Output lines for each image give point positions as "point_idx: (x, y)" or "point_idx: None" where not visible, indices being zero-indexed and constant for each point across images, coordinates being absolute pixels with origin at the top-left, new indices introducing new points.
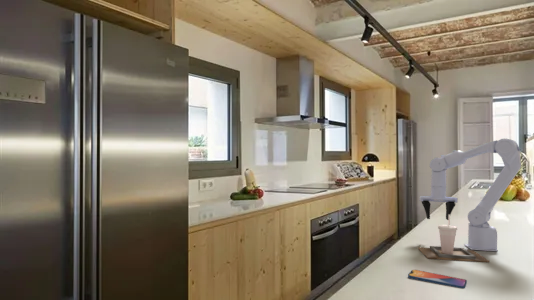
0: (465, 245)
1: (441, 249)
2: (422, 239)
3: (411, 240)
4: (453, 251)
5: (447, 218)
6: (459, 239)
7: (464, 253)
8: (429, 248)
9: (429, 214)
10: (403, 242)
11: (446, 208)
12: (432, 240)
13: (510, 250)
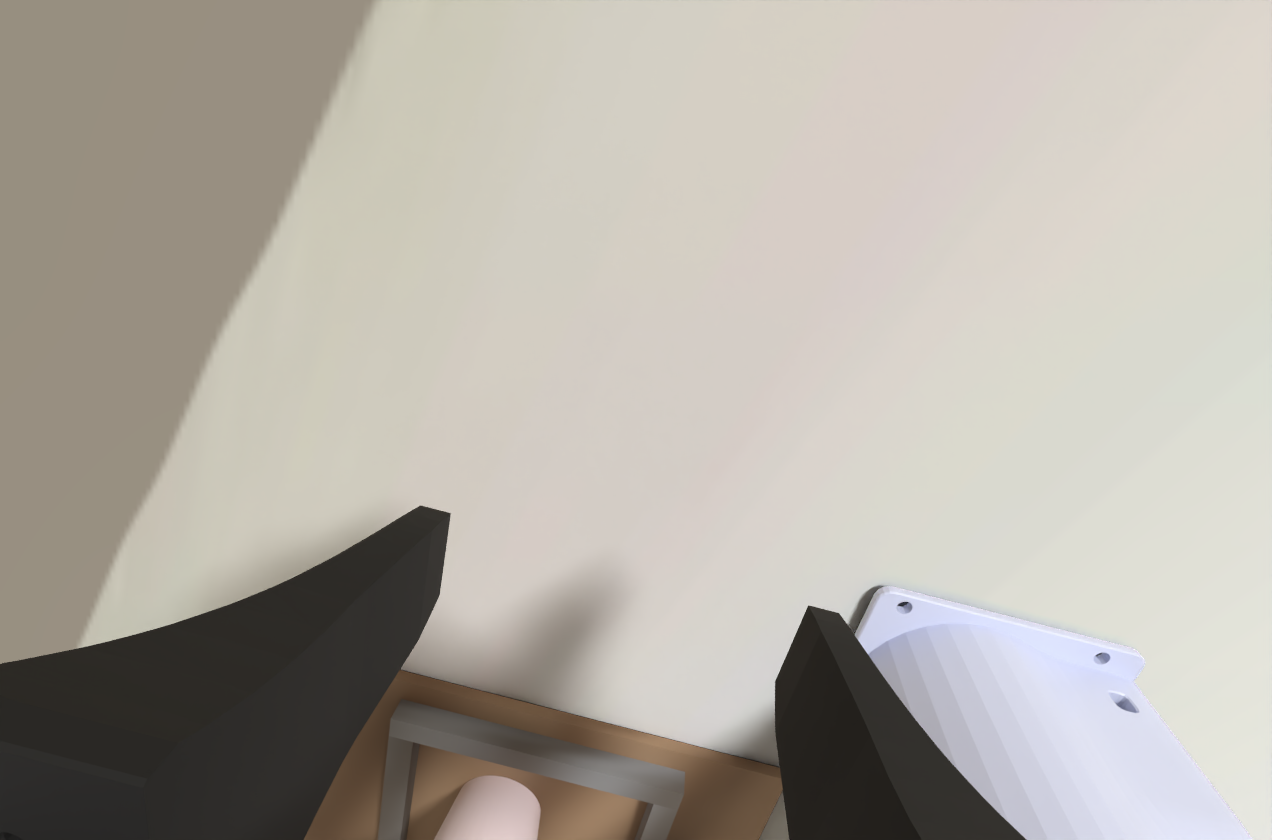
0: (861, 622)
1: (448, 813)
2: (513, 283)
3: (345, 335)
4: (573, 785)
5: (780, 699)
6: (1087, 293)
7: (634, 834)
8: (401, 697)
9: (382, 684)
10: (226, 426)
11: (874, 817)
12: (627, 343)
13: (1227, 772)
